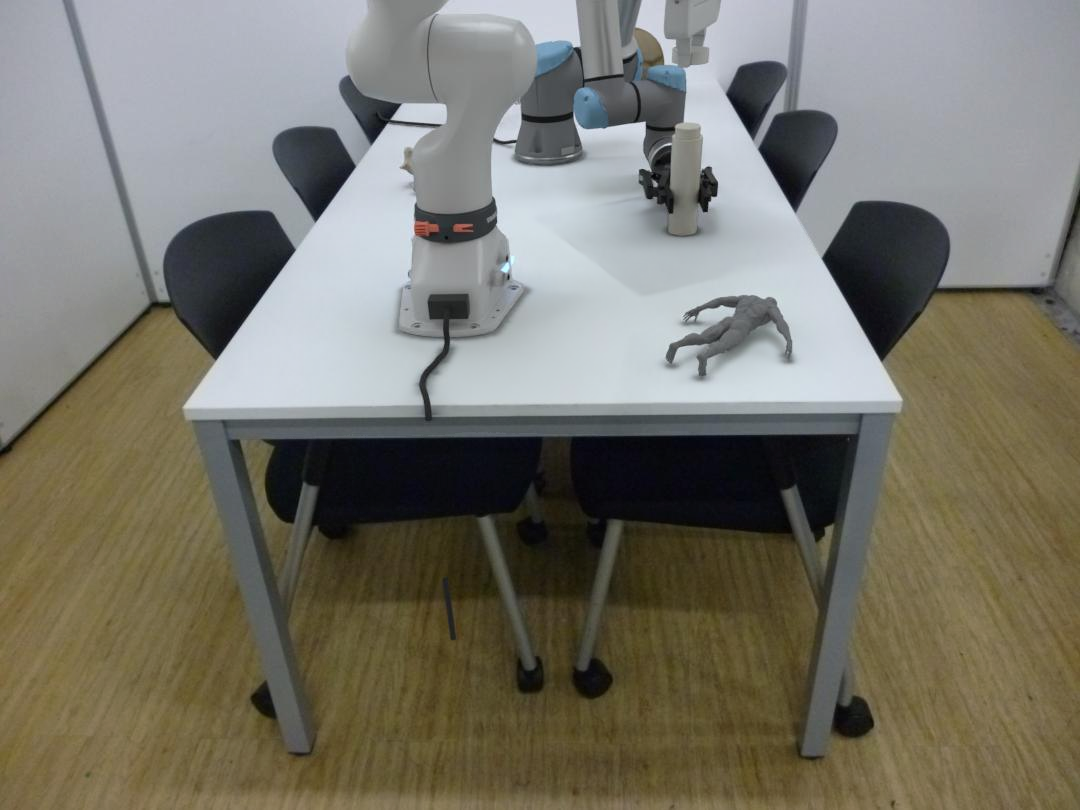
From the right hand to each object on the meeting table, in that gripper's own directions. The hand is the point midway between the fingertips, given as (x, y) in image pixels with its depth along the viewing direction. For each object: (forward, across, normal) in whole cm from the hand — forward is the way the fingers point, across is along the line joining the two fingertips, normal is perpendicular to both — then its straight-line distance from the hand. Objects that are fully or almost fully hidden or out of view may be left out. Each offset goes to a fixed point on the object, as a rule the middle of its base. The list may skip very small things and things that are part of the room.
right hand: (688, 205), depth 139 cm
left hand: (-2, +1, +22) cm, 22 cm away
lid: (-2, +1, +24) cm, 24 cm away
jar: (-5, 0, -6) cm, 8 cm away
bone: (-35, +49, -6) cm, 60 cm away
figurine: (+37, 0, -6) cm, 37 cm away
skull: (-106, +1, -6) cm, 106 cm away
